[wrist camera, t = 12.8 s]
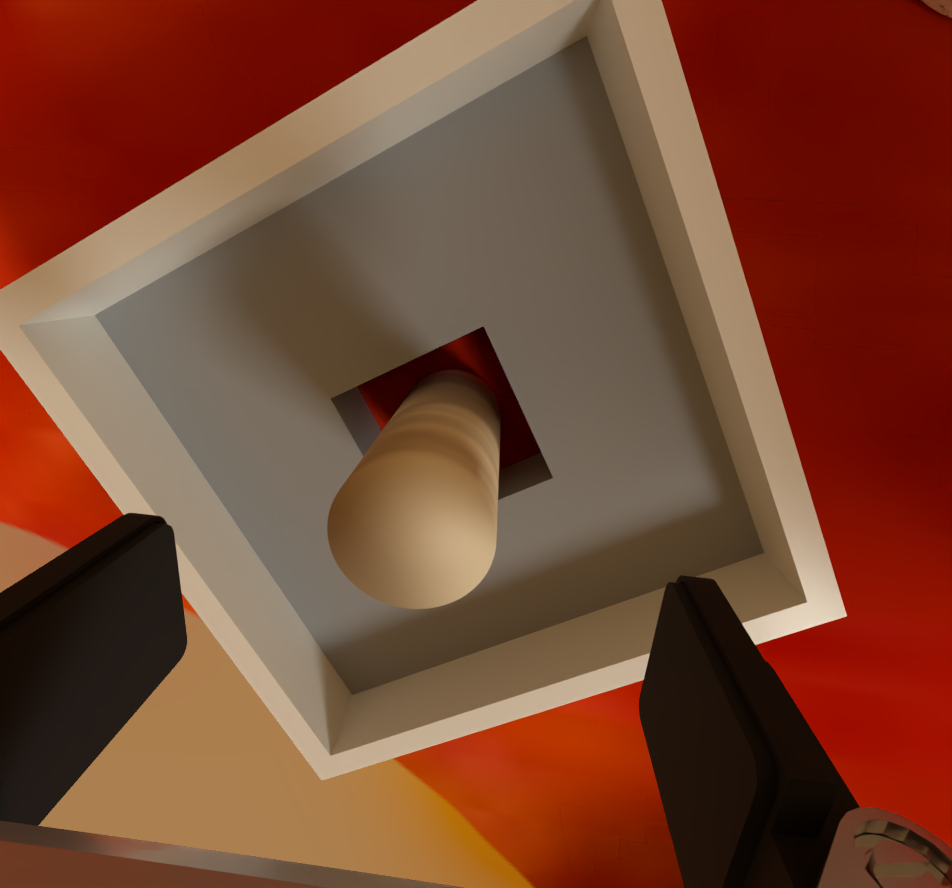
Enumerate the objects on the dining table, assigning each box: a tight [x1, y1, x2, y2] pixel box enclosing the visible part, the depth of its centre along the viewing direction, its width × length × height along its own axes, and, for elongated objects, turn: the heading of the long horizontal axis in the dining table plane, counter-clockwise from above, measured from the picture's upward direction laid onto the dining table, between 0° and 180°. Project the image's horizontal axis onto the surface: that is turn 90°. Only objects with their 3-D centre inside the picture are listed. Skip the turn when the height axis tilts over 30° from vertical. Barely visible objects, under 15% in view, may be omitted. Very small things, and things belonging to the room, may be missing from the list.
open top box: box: [0, 0, 847, 780], centre depth 19 cm, size 20×20×6 cm
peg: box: [327, 369, 501, 609], centre depth 17 cm, size 4×4×10 cm
